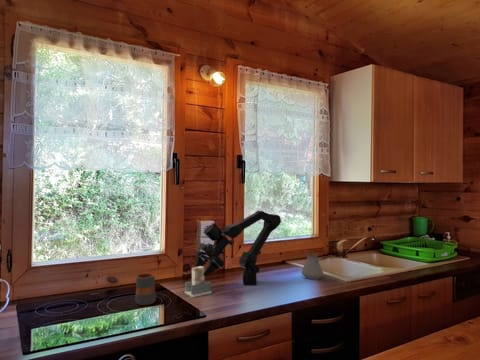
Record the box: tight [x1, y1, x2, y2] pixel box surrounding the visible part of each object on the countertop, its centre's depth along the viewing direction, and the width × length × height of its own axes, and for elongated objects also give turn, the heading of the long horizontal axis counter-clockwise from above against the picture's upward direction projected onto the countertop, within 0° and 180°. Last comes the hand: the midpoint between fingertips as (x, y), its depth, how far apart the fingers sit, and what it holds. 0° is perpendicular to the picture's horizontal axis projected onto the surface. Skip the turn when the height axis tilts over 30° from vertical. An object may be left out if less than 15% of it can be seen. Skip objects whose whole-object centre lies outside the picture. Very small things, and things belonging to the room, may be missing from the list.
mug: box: [134, 273, 157, 306], centre depth 165 cm, size 9×12×12 cm
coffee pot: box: [301, 252, 335, 281], centre depth 198 cm, size 21×12×15 cm, turn 29°
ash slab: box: [191, 266, 205, 285], centre depth 177 cm, size 5×3×11 cm, turn 125°
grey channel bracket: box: [184, 278, 213, 298], centre depth 177 cm, size 10×8×5 cm
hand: (198, 273), depth 177 cm, fingers open, 9 cm apart
